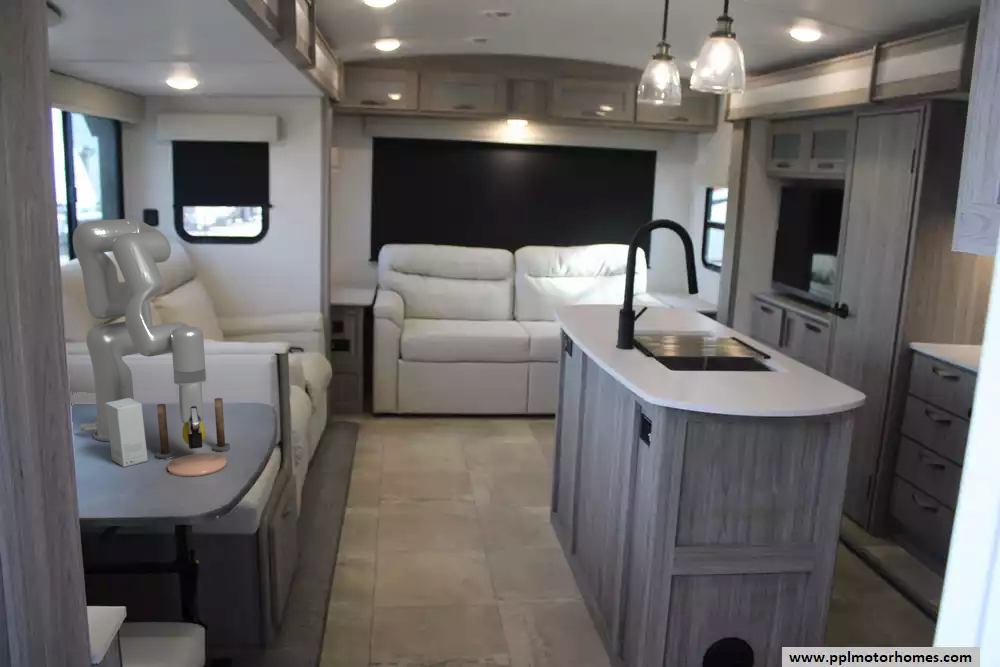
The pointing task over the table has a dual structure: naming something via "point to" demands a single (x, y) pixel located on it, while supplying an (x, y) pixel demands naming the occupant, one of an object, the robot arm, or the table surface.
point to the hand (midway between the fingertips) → (194, 443)
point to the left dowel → (163, 434)
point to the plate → (197, 464)
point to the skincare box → (126, 432)
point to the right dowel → (220, 427)
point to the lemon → (186, 431)
